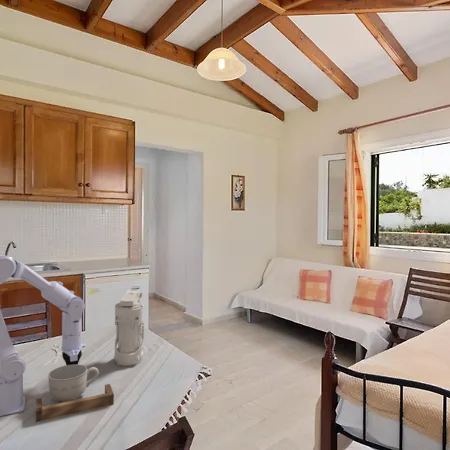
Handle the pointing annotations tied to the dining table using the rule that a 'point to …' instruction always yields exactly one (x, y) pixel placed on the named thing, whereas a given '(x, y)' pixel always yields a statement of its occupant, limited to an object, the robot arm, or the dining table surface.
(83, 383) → the teacup
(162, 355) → the dining table surface
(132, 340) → the lantern
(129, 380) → the dining table surface
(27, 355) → the dining table surface
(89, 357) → the dining table surface
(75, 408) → the dock
